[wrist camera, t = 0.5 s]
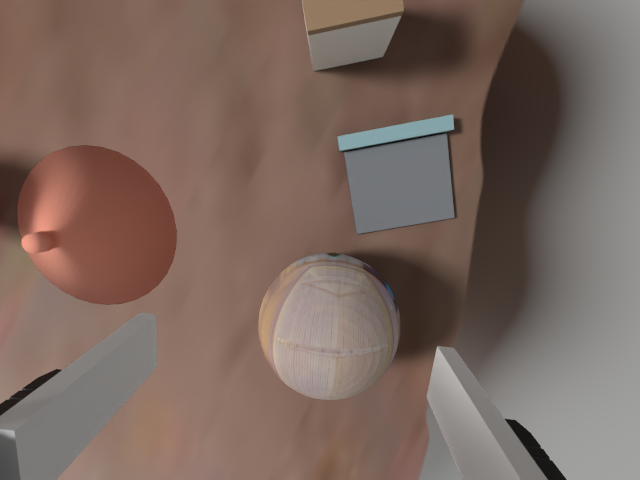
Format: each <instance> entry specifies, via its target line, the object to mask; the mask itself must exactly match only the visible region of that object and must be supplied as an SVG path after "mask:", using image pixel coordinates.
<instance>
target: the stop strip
mask: <svg viewBox="0 0 640 480" xmlns="http://www.w3.org/2000/svg"><path fill="white" fill-rule="evenodd" d="M451 130H454V120H453V115H448V116H442V117H437V118H432V119H427V120H421V121H416V122H411V123H406V124H400V125H395V126H390V127H385V128H379V129H374V130H369V131H363V132H358V133H353V134H348V135H342V136H338V144H339V151H340V152H341V151H346V150H351V149H357V148H362V147H367V146H373V145H378V144H384V143H389V142H394V141H400V140H405V139H410V138H416V137H421V136H426V135H432V134H437V133H443V132H448V131H451Z"/></svg>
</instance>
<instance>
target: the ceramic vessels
mask: <svg viewBox="0 0 640 480" xmlns="http://www.w3.org/2000/svg"><path fill="white" fill-rule="evenodd" d="M17 217H18V228H19V231H20V235H21V238H22V246H23V248H24V250H25V251H27V253H28V255H29V257H30V258H31V260H32V261H33V263H34V264H35V265H36V267H37V268H38V270H39V271H40V272H41V273H42V274H43V275H44V276H45V277H46V278H47V279H48V280H49V281H50V282H51V283H53V284H54V285H55V286H57V287H58V288H59V289H61V290H62V291H64V292H66V293H68V294H70V295H72V296H74V297H76V298H78V299H81V300H84V301H88V302H91V303H97V304H106V305H110V304H122V303H126V302H130V301H133V300H136V299H138V298H140V297H142V296H144V295H146V294H148V293H149V292H150V291H151V290H153V289H154V288H155V287H156V286H157V285H159V283H160V282H161V281H162V279H163V278H164V277H165V275H166V274H167V273H168V270H169V268H170V266H171V264H172V262H173V259H174V254H175V250H176V234H177V230H176V225H175V219H174V214H173V212H172V209H171V206H170V204H169V201H168V199H167V197H166V196H165V194H164V192H163V191H162V189H161V187H160V186H159V184H158V183H157V182H156V181H155V180H154V178H153V177H152V176H151V175H150V174H149V173H148V172H147V171H146V170H145V169H144V168H142V167H141V166H140V165H139V164H137V163H136V162H135V161H134V160H132V159H130V158H128V157H126V156H124V155H123V154H121V153H119V152H116V151H113V150H110V149H107V148H103V147H98V146H89V145H82V146H71V147H67V148H64V149H61V150H58V151H55V152H53V153H51V154H50V155H48V156H47V157H45V158H43V159H42V160H41V161H40V162H39V163H38V164H37V165H36V166H35V167H34V168H33V169H32V170H31V171H30V173H29V174H28V176H27V178H26V179H25V181H24V183H23V186H22V189H21V192H20V195H19V199H18V208H17Z"/></svg>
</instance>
